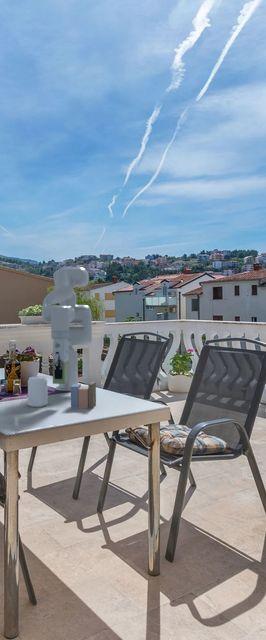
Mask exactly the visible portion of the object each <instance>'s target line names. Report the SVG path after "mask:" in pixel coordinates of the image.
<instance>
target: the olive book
mask: <svg viewBox="0 0 266 640" xmlns="http://www.w3.org/2000/svg"><path fill="white" fill-rule="evenodd" d="M58 362H61V361H58ZM67 382H68V361H67V362H65V363H63V361H62V379H55V362H53V361H52V384H54V385H55V384H56V385H57V384H58V385H59V384H65V383H67Z"/></svg>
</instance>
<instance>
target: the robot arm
mask: <svg viewBox="0 0 266 640" xmlns="http://www.w3.org/2000/svg"><path fill="white" fill-rule="evenodd" d="M52 276H53V283H54V289H53V290H51V291H50V292H48V294H47V295H46V296H45V297H44V299H43V302H42V308H41V319H42V320H43V321H44V322H45V323H50V329H51V331H50V337H51V340H52V363H53V362H55V379H62V361H63V363H65V362H67V361H68V382H67V383H65V384H58V385H57V386H56V387H55V390H56V391H59V392H71V386H72V385H73V384H79V372H78V371H79V369H78V368H79V358H78V357H79V355H78V352H77V351H76V349H75V348H74V346H89V345H90V344H91V343H92V339H93V336H92V333H93V325H92V323H93V321H92V320H93V318H92V309H91V307H90V305H87V304H77V294H76V292H75V291H74V288H75V287H76V288H80V287H81V288H83V287H87V285H88V284H89V282H90V275H89V272H88V270H87V269H86V268H84V267H70V266H69V267H61V268H59V269H58V270H56V271H54V272H53V274H52ZM57 304H58V305H57ZM72 324H73V325H75V324H78V325H79V324H80V325H82V326H80V325H79V326H72ZM58 361H61V362H58Z"/></svg>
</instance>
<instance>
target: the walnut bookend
mask: <svg viewBox="0 0 266 640" xmlns="http://www.w3.org/2000/svg"><path fill="white" fill-rule="evenodd" d="M87 385H88V386H87V387H88V399H89V408H88V409H94V408H96V406H97V381H91V382H89V383H88V384H87Z"/></svg>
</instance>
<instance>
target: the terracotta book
mask: <svg viewBox="0 0 266 640" xmlns="http://www.w3.org/2000/svg"><path fill="white" fill-rule="evenodd" d="M77 409H90V408H89V399H88V386H82V385H81V387H80V388H79V389H78V408H77Z"/></svg>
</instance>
